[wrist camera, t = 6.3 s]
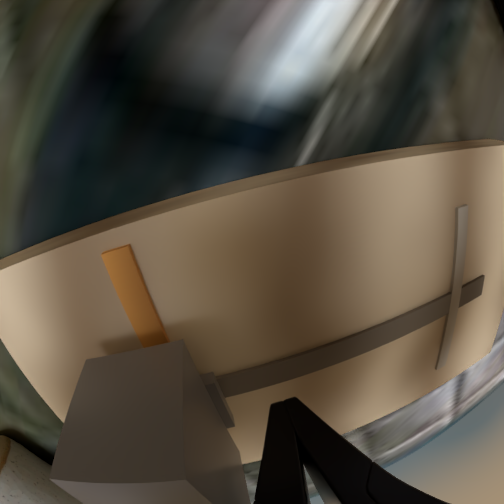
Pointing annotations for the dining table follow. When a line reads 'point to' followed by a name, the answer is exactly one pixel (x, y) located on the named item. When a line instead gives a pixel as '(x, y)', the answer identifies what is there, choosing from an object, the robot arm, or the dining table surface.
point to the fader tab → (149, 433)
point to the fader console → (282, 285)
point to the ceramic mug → (27, 478)
